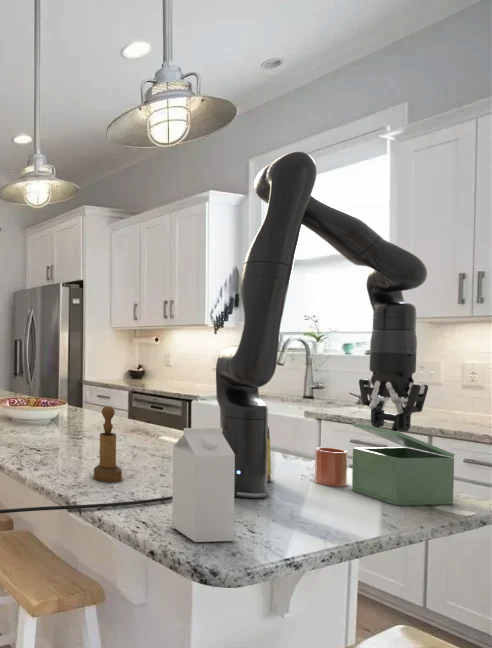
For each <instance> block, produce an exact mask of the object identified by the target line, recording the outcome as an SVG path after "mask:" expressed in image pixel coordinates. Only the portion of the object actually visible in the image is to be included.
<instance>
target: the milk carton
mask: <svg viewBox="0 0 492 648" xmlns="http://www.w3.org/2000/svg"><path fill="white" fill-rule="evenodd" d="M234 475H235V454H234V452H233V451H232V449H231V447H230V446H229V444H228V442H227V441H226V439H225V437H224V436H223V434H222V428H220V427H185V428H183V434H182V435H181V436H180V437H179V439H178V440H177V441H176V442H175V444H174V445H173V446H172V496H173V500H172V506H171V507H172V509H171V510H172V511H171V512H172V513H171V515H172V516H171V519H172V520H171V522H172V523H171V527H172V528H173V529H175V530H176V531H178V532H179V533H181V535H183V536H185V537H186V538H188V539H190V540H191V541H193V542H194V543H209V542H234V539H235V537H234V536H235V535H234V534H235V496H234Z"/></svg>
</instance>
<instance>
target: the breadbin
mask: <svg viewBox="0 0 492 648" xmlns="http://www.w3.org/2000/svg"><path fill="white" fill-rule="evenodd" d="M351 472H352V475H351V476H352V477H351V479H352V480H351V483H352V484H351V490H352V491H354V492H357V493H360V494H363V495H365V496H367V497H371V498H373V499H376V500H379V501H382V502H385V503H389V504H391V505H393V506H432V505H435V506H437V505H439V506H440V505H453V504H454V484H455V483H454V482H455V481H454V479H455V457H449V456H445V455H440V454H436V453H431V452H426V451H422V450H417V449H413V448H408V447H404V446H390V447H389V446H386V447H385V446H382V447H381V446H380V447H379V446H378V447H352V471H351Z"/></svg>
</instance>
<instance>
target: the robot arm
mask: <svg viewBox="0 0 492 648" xmlns="http://www.w3.org/2000/svg"><path fill="white" fill-rule="evenodd" d="M317 171H318V170H317V165H316V162H315V160H314V158H313V157H312V156H310V154H308V153H306V152H304V151H291V152H287V153H286V154H284V155H282V156H280V157H277V159H275V160H273V161H272V162H271V163H270V164H267V165H266V166H265V167H263V168H262V169H261V170H260V171H259V172H258V173H257V175H256V176H255V179H254V183H253V188H254V192H255V193H256V195H257V196H258V198H259V199H260V200H262V201H263V202H265V203H266V204H267V210H266V213H265V216H264V218H263V221H262V224H261V225H260V227H259V229H258V231H257V233H256V234H255V236H254V238H253V240H252V243H251V244H250V246H249V249H248V251H247V253H246V256H245V259H244V263H243V266H242V267H243V268H242V271H241V277H240V283H239V288H240V289H239V292H240V299H241V303H242V304H241V305H242V309H243V315H244V321H243V329H242V333H241V336H240V340H239V344H238V345H232V346H228V347H226V348H225V349H223V350H222V351H221V352H220V353H219V355H218V357H217V360H216V365H215V389H216V390H215V392H216V401H217V404H218V407H219V428H222V434H223V436H224V437H225V439H226V441H227V442H228V444H229V446H230V447H231V449H232V451H233V452H234V454H235V475H234V497H238V498H244V499H245V498H246V499H262V498H266V497H268V481H267V432H268V428H269V425H268V422H269V420H268V419H269V409H268V406H267V404H266V403H265V401H264V402H263V401H262V400H263V399H262V398H261V395H260V391H259V388H262V387H264V386H265V385H267V384H268V383H269V382H270V381H271V380H272V379H273V377H274V376H275V372H276V369H277V365H278V354H279V353H278V352H279V343H280V330H281V326H282V325H281V324H282V320H283V315H284V311H285V304H286V300H287V295H288V290H289V288H290V283H291V279H292V274H293V270H294V269H293V268H294V263H295V259H296V258H295V257H296V253H297V249H298V244H299V240H300V234H301V228H302V226H304V227H306V228H307V229H308V230H309V231H311V232H313V233H315V234H316V235H317V236H318V237H320V238H321V239H323V240H324V241H325V242H326V243H327V244H329V245H330V246H331V247H332V248H333V249H334V250H335V251H336V252H338V253H339V254H340V255H341V256H343V257H344V258H345V259H346V260H347V261H349V262H350V263H351V264H353V265H355V266H358V267H359V266H360V267H361V266H362V267H367V268H370V269H369V270H368V273H367V276H366V279H365V281H366V282H365V284H366V291H367V295H368V298H369V302H370V306H371V308H372V331H371V337H370V342H369V343H370V344H369V345H370V346H369V367H368V368H369V372H372V375H371V377H370V378H368V379H365V378H364V379H359V380H358V385H359V392H360V396H361V397H360V398H361V403H362V405H363V406H367V407H368V408H369V409H370V424H371V427H374V425H375V423H376V420H377V418H376V414H377V413H378V412H383V413H385V407H386V404H387V403H388V402H389V401H391V402H392V403H393V404H394V405H395V408H396V411H397V413H395V414H396V430H397V432H408V431H410V428H411V419H412V414H415V413H421V412H422V411H423V408H424V405H425V401H426V397H427V394H428V391H429V385H427V384H421V383H417V382H415V381H414V378H413V374H415V373H416V371H417V370H416V369H417V351H418V350H417V349H418V339H417V338H418V337H417V331H416V330H417V308H416V306H415V305H414V304H412V303H411V302H405V300H404V295H403V292H405V291H410V290H415V289H417V288H419V287H421V286H422V285H423V284H424V283H425V282H426V281H427V279H428V269H427V267H426V265H425V263H424V262H423V261H422V260H421V258H419V257H418V256H417V255H415V254H414V253H412V252H410V251H408V250H406V249H404V248H403V247H401V246H398V245H396V244H395V243H392V242H390V241H388V240H386V239H384V238H383V237H382V236H381V235H380V234H379V233H377V232H376V231H375V230H374V229H373V228H372V227H371V226H369V225H368V224H367V223H365V222H364V221H363V220H361V219H360V218H358V217H356V216H354V215H353V214H350V213H349V212H346V211H344V210H340V209H338V208H336V207H334V206H331V205H329V204H328V203H325V202H323V201H321V200H320V199H318V198H317V197H315V196H314V195H313V194H312V193H313V189H314V186H315V183H316V180H317V173H318V172H317ZM261 399H262V400H261ZM384 424H385V420H382V423H381V425H380V428H381V427H384ZM165 501H173V495H170V496H164V497H155V498H150V499H149V498H148V499H140V500H131V501H119V502H106V503H90V504H89V503H88V504H68V505H50V506H31V507H17V508H6V509H5V508H4V509H0V514H10V513H11V514H12V513H25V512H39V511H57V510H58V511H59V510H78V509H96V508H97V509H98V508H112V507H123V506H132V505H133V506H134V505H143V504H150V503H158V502H165Z"/></svg>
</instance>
